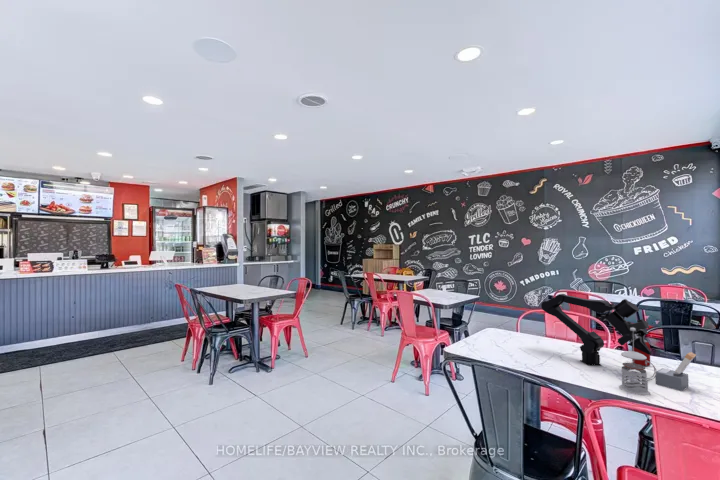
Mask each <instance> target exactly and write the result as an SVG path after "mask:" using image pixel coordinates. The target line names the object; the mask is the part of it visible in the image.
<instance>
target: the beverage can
mask: <svg viewBox="0 0 720 480" xmlns="http://www.w3.org/2000/svg"><path fill="white" fill-rule="evenodd" d="M644 341H645V343H646V345H647V347H648V348H649V350H650V351H651V345H650V342H649V340H646V339H644ZM631 351H633V347H632V346H631ZM634 351H635V352H638V353H640V354H643V355H644V356H646V357H647V359H646V360H647V361H646V360H635V359H634V364H639V365H641V366H644V367H648V366H650V365H651V364H650V363H649V362H651V354H647V353H645V352H643V351H641V350H638V349H636V348H634ZM631 360H632V362H633V359H631ZM645 361H646V362H647V365H646V364H645ZM648 361H649V362H648Z"/></svg>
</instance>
